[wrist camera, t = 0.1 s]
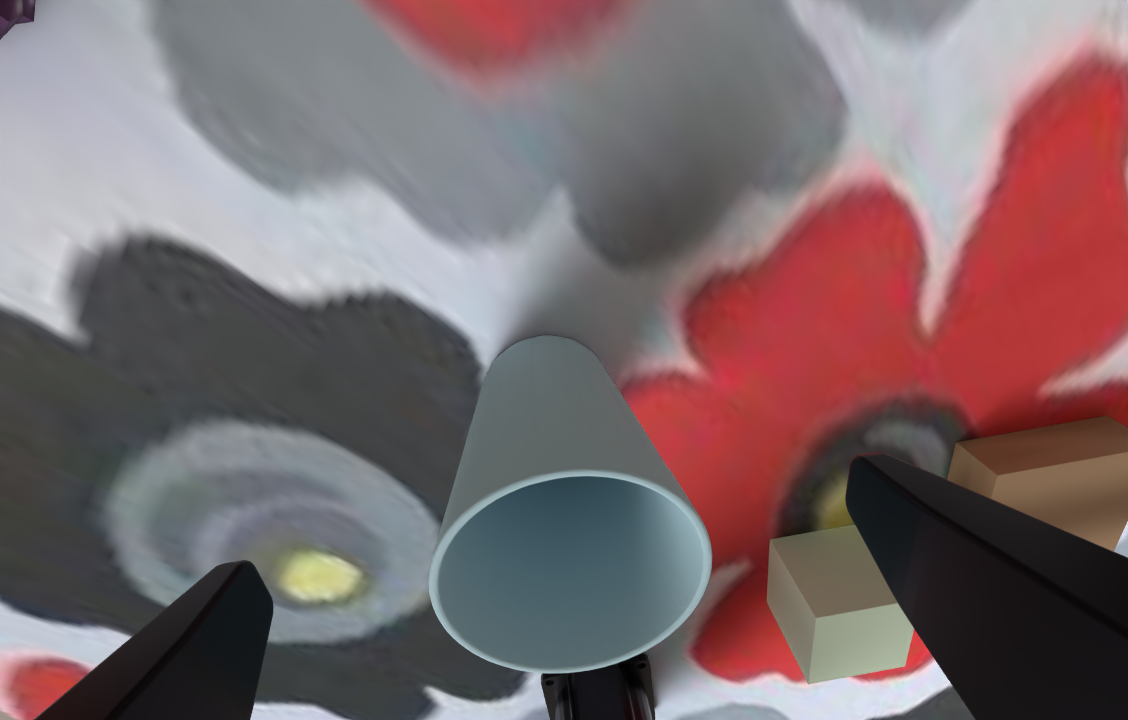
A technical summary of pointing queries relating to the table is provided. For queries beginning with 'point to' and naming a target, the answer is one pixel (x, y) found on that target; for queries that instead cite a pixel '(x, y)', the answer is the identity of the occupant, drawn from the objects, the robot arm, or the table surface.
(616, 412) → the cup
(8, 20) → the purple cauliflower
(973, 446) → the base brick
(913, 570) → the robot arm
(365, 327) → the table surface
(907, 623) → the sage cube
